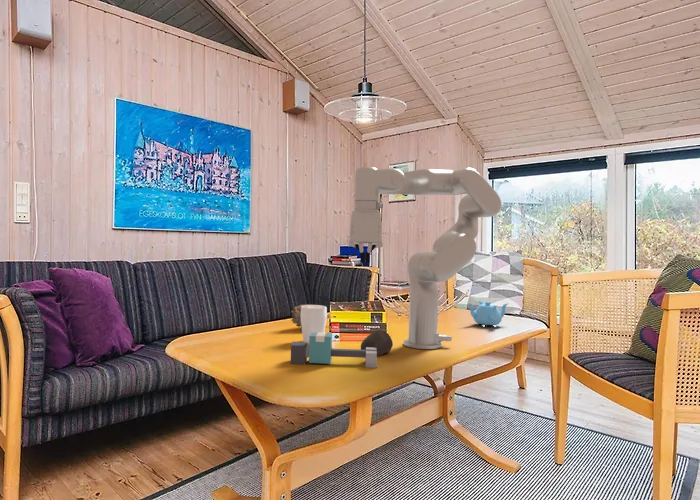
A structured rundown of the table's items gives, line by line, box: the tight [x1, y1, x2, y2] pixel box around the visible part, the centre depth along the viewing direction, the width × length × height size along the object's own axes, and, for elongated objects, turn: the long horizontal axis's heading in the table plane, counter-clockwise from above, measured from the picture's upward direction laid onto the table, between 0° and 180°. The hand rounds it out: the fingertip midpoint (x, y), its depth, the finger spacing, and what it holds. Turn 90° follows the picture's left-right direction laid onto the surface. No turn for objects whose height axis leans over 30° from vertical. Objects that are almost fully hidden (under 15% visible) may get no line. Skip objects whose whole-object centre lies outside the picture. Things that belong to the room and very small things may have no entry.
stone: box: [360, 329, 394, 357], centre depth 147 cm, size 10×8×10 cm
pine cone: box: [290, 303, 331, 329], centre depth 184 cm, size 22×10×10 cm, turn 135°
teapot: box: [468, 299, 509, 326], centre depth 198 cm, size 13×13×10 cm
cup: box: [300, 304, 328, 345], centre depth 160 cm, size 9×9×12 cm
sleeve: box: [308, 331, 333, 365], centre depth 133 cm, size 6×5×8 cm
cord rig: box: [290, 341, 378, 369], centre depth 133 cm, size 24×7×5 cm, turn 88°
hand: (364, 265), depth 148 cm, fingers closed
